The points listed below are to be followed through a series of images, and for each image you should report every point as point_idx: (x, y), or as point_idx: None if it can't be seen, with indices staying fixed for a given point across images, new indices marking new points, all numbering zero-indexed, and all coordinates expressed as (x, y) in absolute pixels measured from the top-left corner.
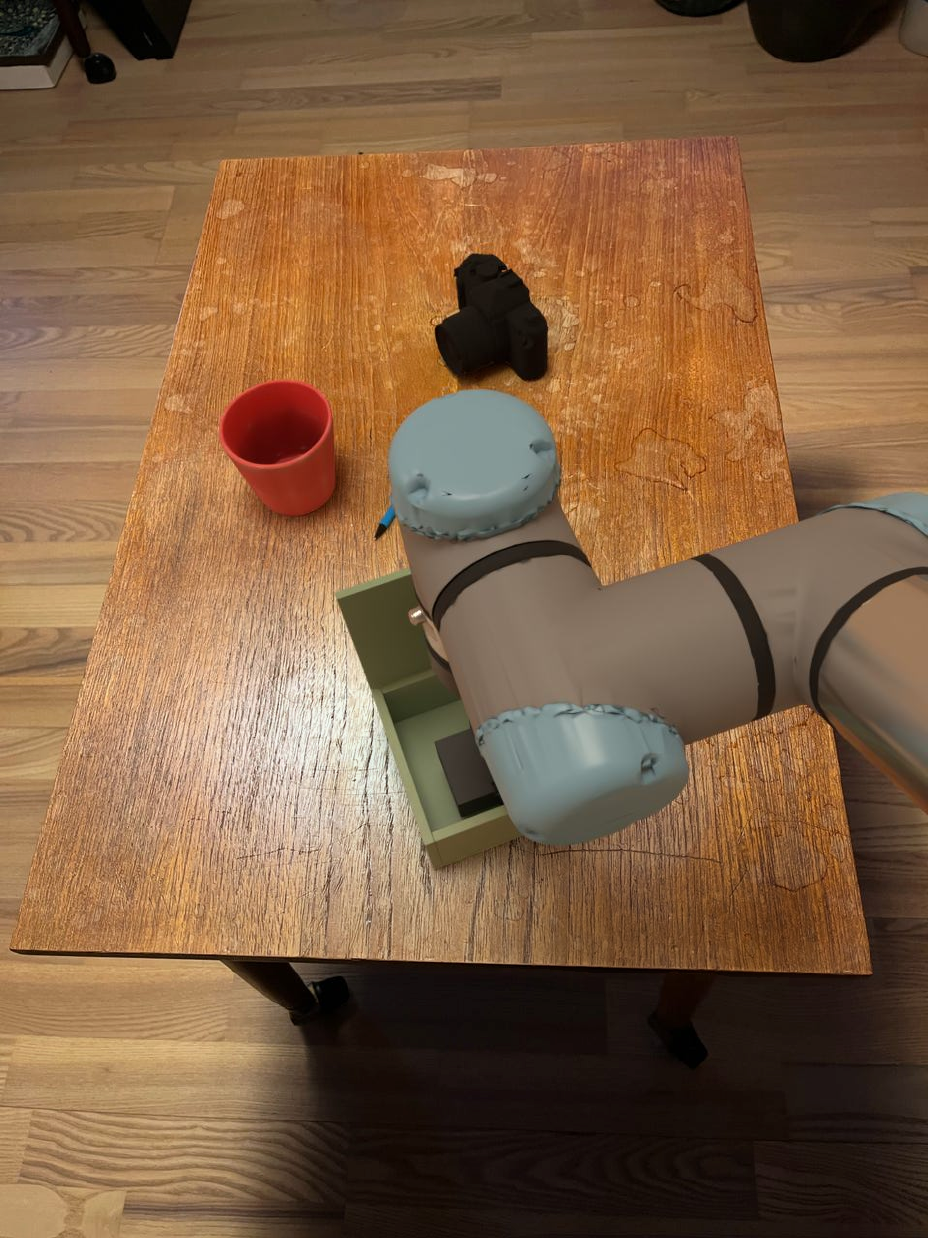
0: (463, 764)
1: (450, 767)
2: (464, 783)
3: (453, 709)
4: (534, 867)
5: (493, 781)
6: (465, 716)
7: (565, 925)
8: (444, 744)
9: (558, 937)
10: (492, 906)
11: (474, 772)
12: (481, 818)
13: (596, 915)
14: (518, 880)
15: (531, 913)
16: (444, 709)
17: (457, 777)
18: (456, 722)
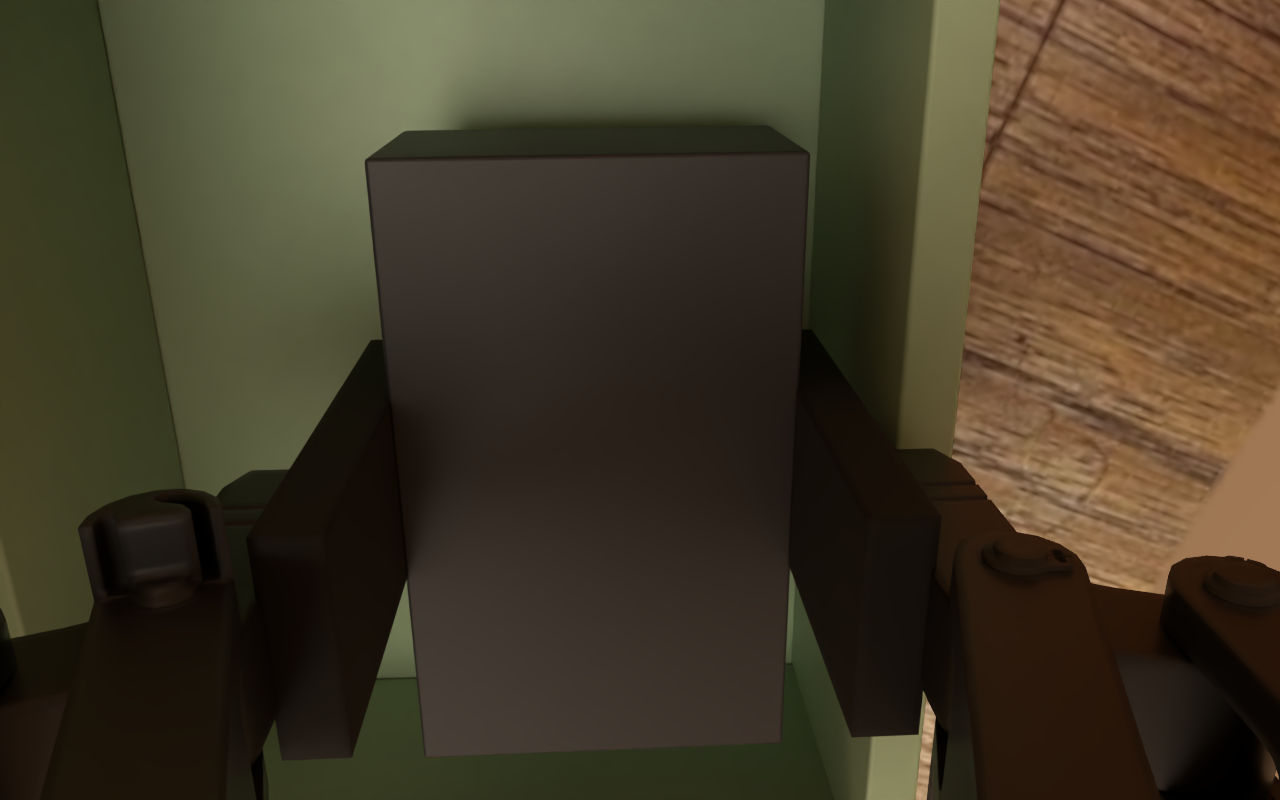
0: (593, 671)
1: (584, 726)
2: (688, 690)
3: (214, 452)
4: (966, 350)
5: (929, 796)
6: (261, 415)
7: (1210, 319)
8: (456, 723)
9: (1232, 358)
10: (1020, 532)
11: (654, 637)
12: None
13: (1243, 194)
14: (982, 421)
15: (1110, 417)
16: (205, 488)
17: (648, 713)
18: (280, 458)
